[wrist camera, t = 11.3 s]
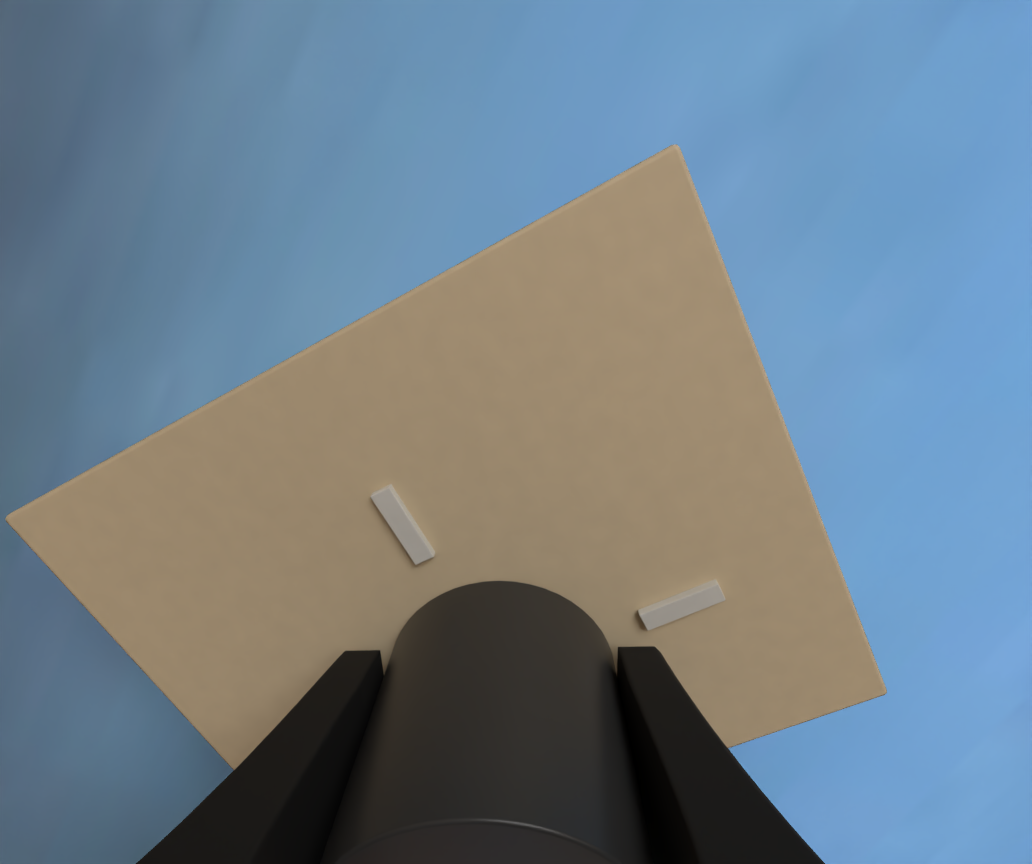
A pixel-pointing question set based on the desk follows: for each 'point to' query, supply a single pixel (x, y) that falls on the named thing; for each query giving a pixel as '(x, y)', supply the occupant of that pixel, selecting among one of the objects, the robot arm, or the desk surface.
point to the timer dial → (495, 741)
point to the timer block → (484, 485)
